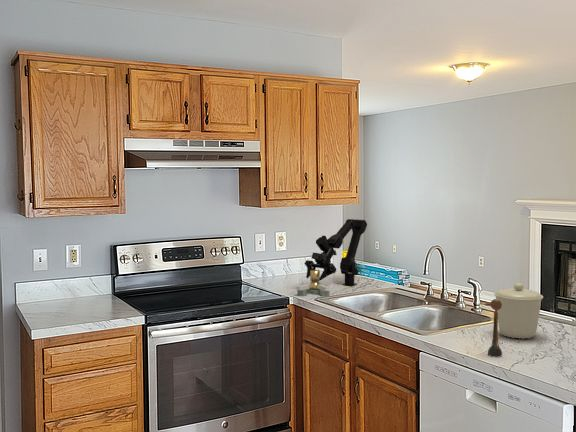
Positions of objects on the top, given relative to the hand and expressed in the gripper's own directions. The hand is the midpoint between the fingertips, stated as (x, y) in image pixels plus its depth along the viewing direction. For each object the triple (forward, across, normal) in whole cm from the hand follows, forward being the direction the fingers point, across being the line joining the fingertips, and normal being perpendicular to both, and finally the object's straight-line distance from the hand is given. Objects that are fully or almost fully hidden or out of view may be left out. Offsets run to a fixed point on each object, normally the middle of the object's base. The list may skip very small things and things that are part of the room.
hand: (313, 278), depth 327 cm
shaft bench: (+7, +4, +3) cm, 9 cm away
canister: (+14, +116, -3) cm, 117 cm away
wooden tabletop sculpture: (+36, +120, -25) cm, 128 cm away
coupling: (+4, 0, +6) cm, 8 cm away
